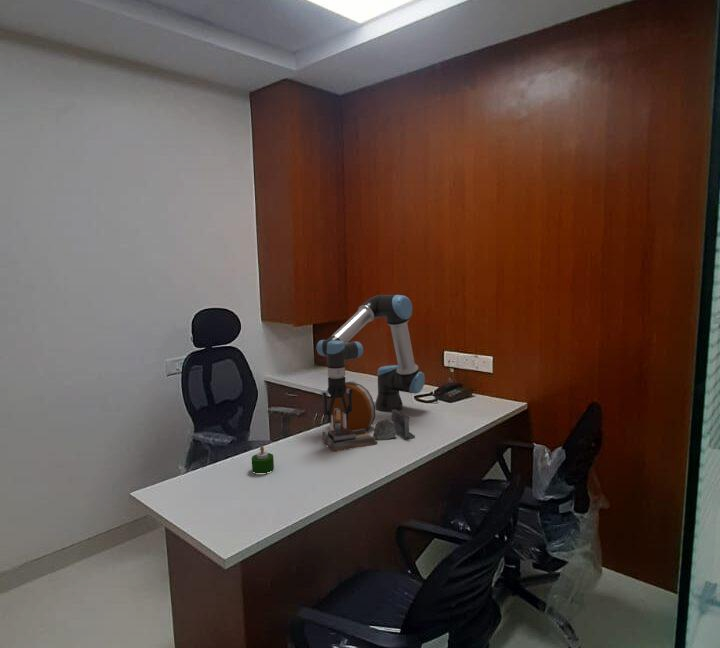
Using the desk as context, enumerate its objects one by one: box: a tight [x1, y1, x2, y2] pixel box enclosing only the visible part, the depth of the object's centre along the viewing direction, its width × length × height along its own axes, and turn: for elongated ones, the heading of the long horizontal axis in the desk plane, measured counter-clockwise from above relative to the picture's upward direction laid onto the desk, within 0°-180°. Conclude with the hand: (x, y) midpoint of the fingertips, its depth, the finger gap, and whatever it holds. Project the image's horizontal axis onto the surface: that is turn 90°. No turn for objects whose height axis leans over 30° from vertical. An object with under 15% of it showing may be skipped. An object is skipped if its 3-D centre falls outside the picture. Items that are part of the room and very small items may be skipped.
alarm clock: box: [327, 381, 376, 431], centre depth 235 cm, size 22×10×23 cm, turn 65°
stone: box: [372, 416, 397, 441], centre depth 221 cm, size 10×10×10 cm
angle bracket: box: [391, 409, 416, 441], centre depth 224 cm, size 14×5×10 cm, turn 21°
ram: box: [327, 408, 356, 443], centre depth 213 cm, size 8×10×15 cm
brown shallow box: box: [321, 429, 378, 452], centre depth 215 cm, size 14×21×4 cm, turn 111°
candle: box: [251, 445, 275, 473], centre depth 188 cm, size 8×8×10 cm
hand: (338, 428), depth 213 cm, fingers open, 5 cm apart
